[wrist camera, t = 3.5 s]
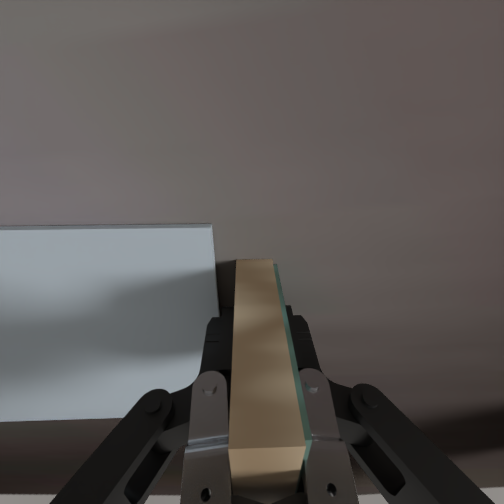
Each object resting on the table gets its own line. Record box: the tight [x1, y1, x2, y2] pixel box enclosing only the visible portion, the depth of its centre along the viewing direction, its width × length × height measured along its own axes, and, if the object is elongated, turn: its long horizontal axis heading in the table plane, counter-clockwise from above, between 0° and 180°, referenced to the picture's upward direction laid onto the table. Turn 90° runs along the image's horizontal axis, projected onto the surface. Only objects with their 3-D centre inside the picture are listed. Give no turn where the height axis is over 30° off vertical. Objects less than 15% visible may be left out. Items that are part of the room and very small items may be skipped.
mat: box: [0, 224, 220, 422], centre depth 15 cm, size 22×16×1 cm
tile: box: [228, 259, 312, 504], centre depth 11 cm, size 2×6×8 cm, turn 0°
